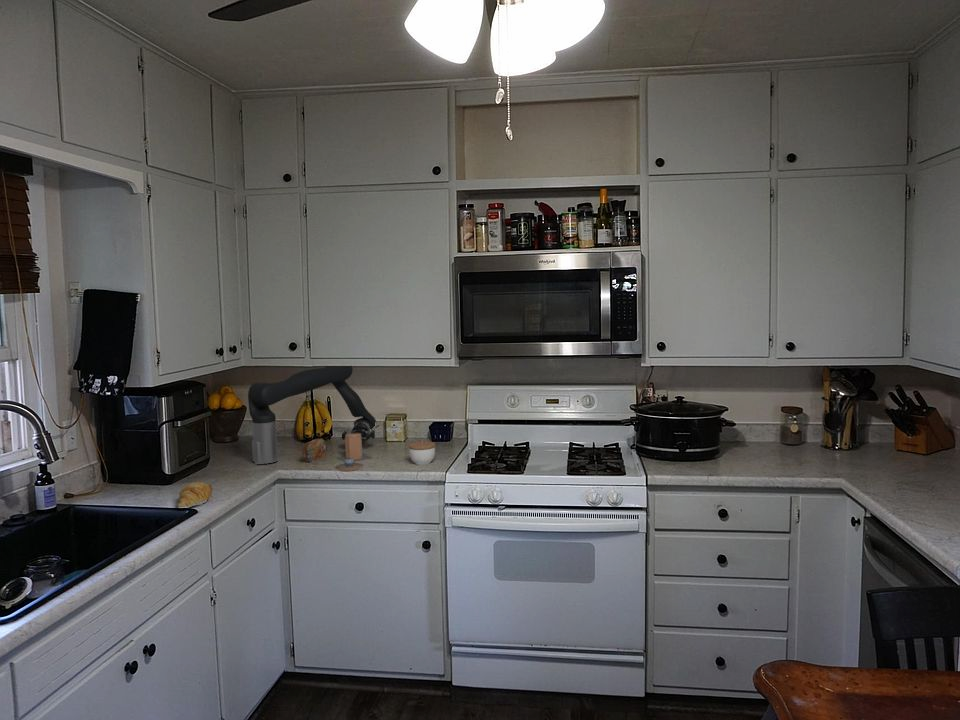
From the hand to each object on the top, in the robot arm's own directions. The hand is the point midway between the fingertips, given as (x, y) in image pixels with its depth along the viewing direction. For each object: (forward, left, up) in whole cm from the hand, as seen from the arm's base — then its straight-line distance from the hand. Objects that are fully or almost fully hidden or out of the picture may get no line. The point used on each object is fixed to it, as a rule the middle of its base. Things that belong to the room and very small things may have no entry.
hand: (356, 438), depth 297 cm
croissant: (-75, -25, -7) cm, 79 cm away
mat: (-6, -9, -6) cm, 12 cm away
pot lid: (-15, -21, -6) cm, 26 cm away
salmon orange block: (-6, -9, -6) cm, 12 cm away
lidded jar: (+11, -35, -7) cm, 37 cm away
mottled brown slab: (-19, +1, -7) cm, 20 cm away
